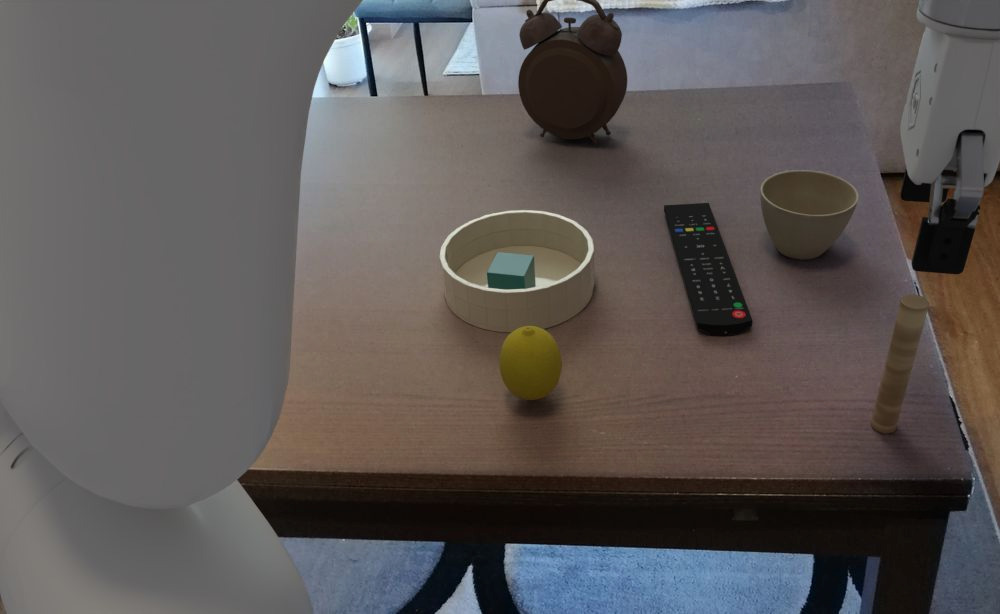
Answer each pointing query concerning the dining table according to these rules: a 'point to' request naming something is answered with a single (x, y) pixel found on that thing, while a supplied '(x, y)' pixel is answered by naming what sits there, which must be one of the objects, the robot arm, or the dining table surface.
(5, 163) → the robot arm
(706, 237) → the remote control
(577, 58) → the alarm clock
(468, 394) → the dining table surface
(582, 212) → the dining table surface
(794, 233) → the flower pot
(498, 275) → the block
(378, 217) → the dining table surface
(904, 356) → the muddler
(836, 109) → the dining table surface
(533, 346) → the lemon
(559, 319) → the bowl
